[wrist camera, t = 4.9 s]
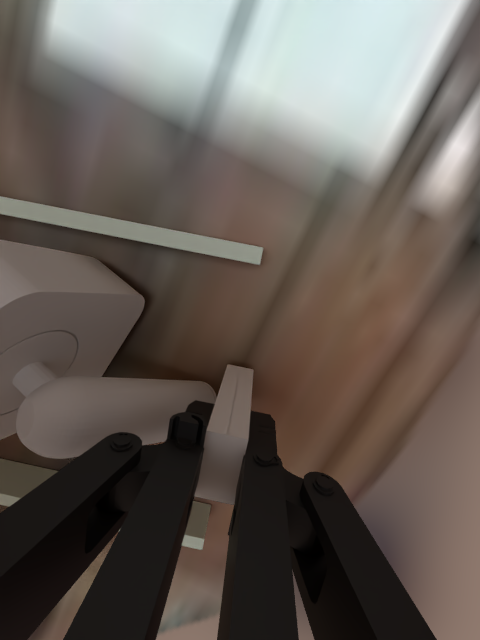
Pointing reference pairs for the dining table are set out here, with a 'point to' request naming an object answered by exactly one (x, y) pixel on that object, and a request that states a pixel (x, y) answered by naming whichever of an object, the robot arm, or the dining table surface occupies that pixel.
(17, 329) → the wall hook
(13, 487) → the keeper channel
